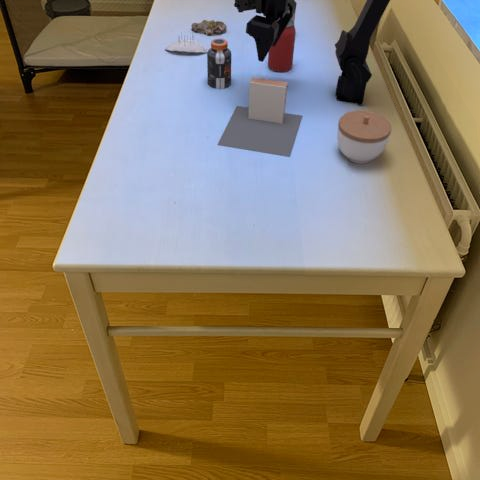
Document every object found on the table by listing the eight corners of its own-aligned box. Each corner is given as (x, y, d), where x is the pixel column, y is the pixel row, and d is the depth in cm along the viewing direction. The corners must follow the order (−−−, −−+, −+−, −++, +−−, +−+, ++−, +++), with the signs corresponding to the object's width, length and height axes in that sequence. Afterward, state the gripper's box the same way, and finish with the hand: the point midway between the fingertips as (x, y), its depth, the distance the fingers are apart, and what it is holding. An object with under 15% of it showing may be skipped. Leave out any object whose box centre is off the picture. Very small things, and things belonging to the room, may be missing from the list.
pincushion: (163, 55, 142) (161, 35, 138) (167, 46, 146) (165, 26, 142) (205, 58, 141) (205, 38, 137) (208, 48, 145) (208, 28, 141)
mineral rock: (227, 18, 155) (226, 21, 148) (227, 33, 157) (226, 37, 150) (192, 18, 155) (189, 21, 148) (193, 33, 158) (190, 37, 151)
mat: (302, 117, 120) (302, 115, 119) (289, 158, 108) (290, 156, 108) (236, 107, 122) (236, 105, 122) (217, 146, 111) (217, 144, 110)
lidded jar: (342, 172, 105) (350, 133, 99) (326, 143, 113) (333, 105, 106) (391, 167, 107) (402, 128, 100) (372, 138, 114) (381, 101, 108)
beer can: (292, 62, 140) (296, 18, 131) (291, 73, 135) (296, 28, 127) (268, 60, 140) (271, 16, 132) (266, 72, 135) (269, 26, 127)
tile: (284, 118, 119) (287, 82, 112) (282, 123, 117) (285, 87, 110) (250, 113, 120) (252, 77, 113) (248, 118, 118) (249, 82, 112)
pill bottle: (228, 92, 128) (228, 48, 120) (205, 89, 128) (203, 45, 120) (233, 80, 132) (233, 37, 124) (210, 78, 132) (210, 34, 124)
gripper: (255, -38, 115) (247, 30, 126) (226, -14, 102) (220, 60, 113) (302, -27, 113) (290, 41, 124) (278, -1, 100) (267, 73, 111)
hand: (266, 53), depth 118 cm, fingers open, 9 cm apart
